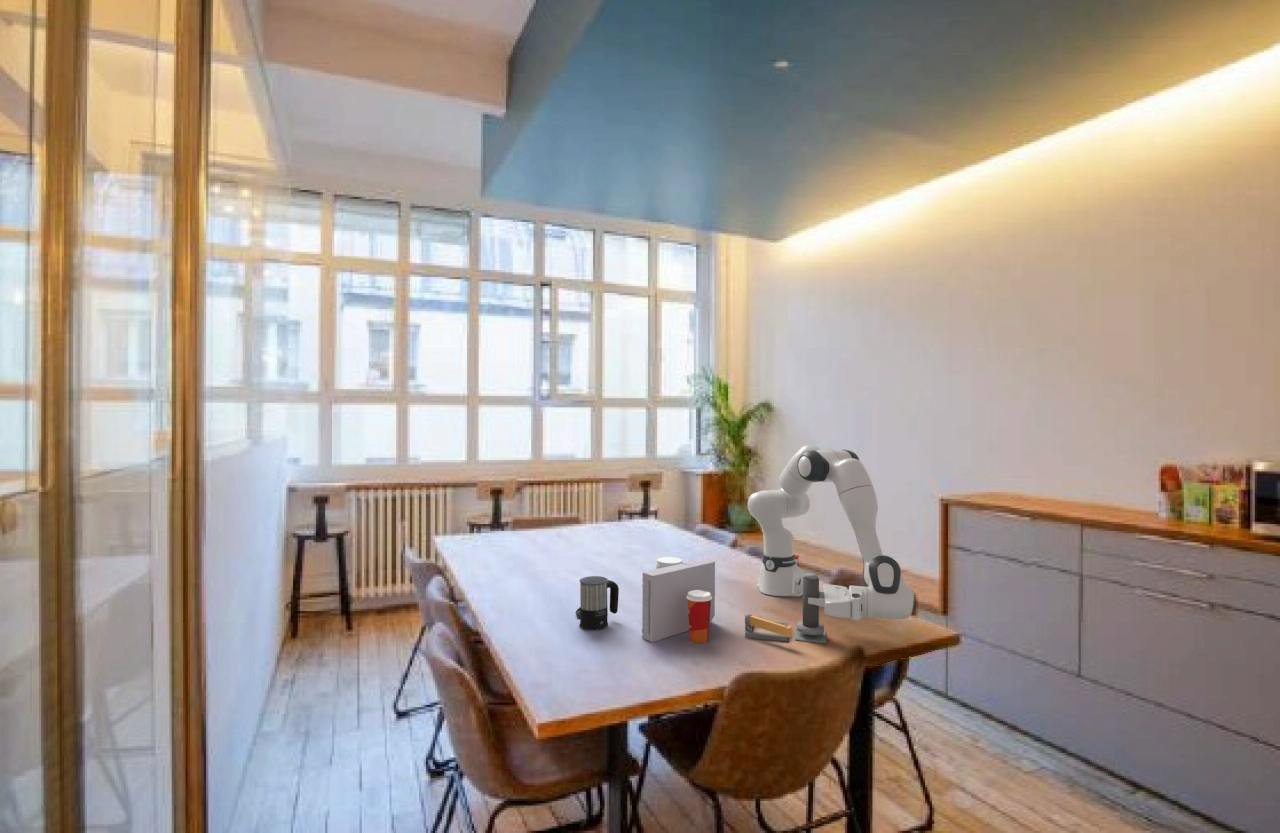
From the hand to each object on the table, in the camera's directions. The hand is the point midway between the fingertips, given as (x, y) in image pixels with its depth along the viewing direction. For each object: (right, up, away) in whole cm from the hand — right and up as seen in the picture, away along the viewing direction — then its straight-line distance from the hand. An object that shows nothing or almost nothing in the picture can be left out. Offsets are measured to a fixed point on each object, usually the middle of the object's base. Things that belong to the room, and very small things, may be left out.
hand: (807, 597), depth 183 cm
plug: (+1, -10, 0) cm, 10 cm away
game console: (-39, -12, +5) cm, 41 cm away
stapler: (-13, -9, -4) cm, 16 cm away
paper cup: (-34, -12, -3) cm, 36 cm away
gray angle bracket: (-12, -12, +3) cm, 17 cm away
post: (-18, -12, +1) cm, 22 cm away
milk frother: (-68, -12, +12) cm, 70 cm away
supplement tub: (-41, -12, +35) cm, 55 cm away
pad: (+1, -12, 0) cm, 12 cm away
